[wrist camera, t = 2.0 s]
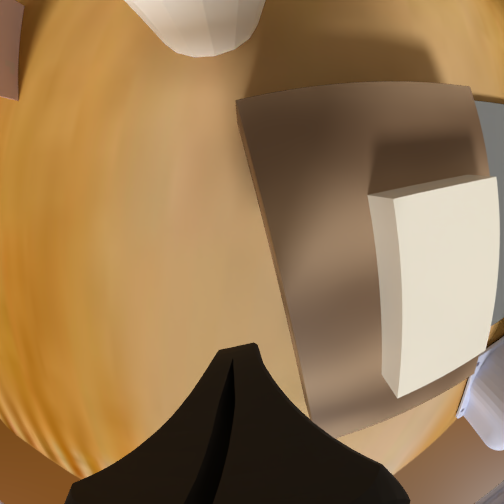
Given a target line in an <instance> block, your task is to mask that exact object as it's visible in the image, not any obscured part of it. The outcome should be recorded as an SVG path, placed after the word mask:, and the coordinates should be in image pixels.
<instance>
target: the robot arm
mask: <svg viewBox="0 0 504 504" xmlns="http://www.w3.org/2000/svg"><path fill="white" fill-rule="evenodd" d="M463 415H464V417H465V418H466V419H467V421H469V423H470V424H471V426H472V427H473V428H474V429H475V431H476V432H477V433H478V435H479V436H480V437H481V439H482V440H483V441H484V443H485V444H486V445H487V446H488V447H489V448H491V449H494V450H504V336H503V337H502V338H501V339H499V340H498V341H496V342H495V343H494V344H492V345H491V346H489V347H488V348H486V350H485V351H484V352H482V353H481V354H479V357H478V361H477V365H476V369H475V372H474V374H473V375H471V376H470V377H469V378H468V382H467V385H466V388H465V391H464V394H463V397H462V400H461V403H460V406H459V409H458V411H457V414H456V417H457V418H460V417H462V416H463ZM0 504H4V503H3V502H1V501H0ZM65 504H410V499H409V497H408V495H407V493H406V492H405V490H404V489H403V487H402V486H401V484H400V483H399V482H398V481H397V480H396V478H395V477H394V476H393V475H392V474H391V473H390V472H389V471H388V470H387V469H386V468H385V467H384V466H383V465H382V464H380V463H378V462H376V461H374V460H372V459H370V458H368V457H366V456H364V455H362V454H360V453H358V452H356V451H354V450H353V449H351V448H349V447H348V446H346V445H344V444H343V443H341V442H340V441H338V440H336V439H335V438H333V437H332V436H331V435H329V434H328V433H327V432H325V431H324V430H323V429H321V428H320V427H319V426H317V425H316V424H315V423H314V422H312V421H311V420H310V419H309V418H308V417H307V416H306V415H304V414H303V413H302V412H301V411H300V410H299V409H298V408H297V407H296V406H295V405H294V404H293V403H292V402H291V401H290V400H289V398H288V397H287V396H286V395H285V394H284V393H283V391H282V390H281V389H280V388H279V386H278V385H277V384H276V382H275V381H274V380H273V378H272V377H271V375H270V373H269V372H268V370H267V369H266V367H265V365H264V363H263V361H262V358H261V354H260V351H259V348H258V345H257V344H255V343H250V344H245V345H241V346H236V347H231V348H226V349H222V350H219V351H218V352H217V354H216V355H215V357H214V358H213V360H212V362H211V363H210V365H209V366H208V368H207V370H206V371H205V373H204V374H203V376H202V377H201V379H200V380H199V382H198V383H197V385H196V386H195V388H194V389H193V391H192V392H191V393H190V395H189V396H188V397H187V398H186V400H185V401H184V402H183V404H182V405H181V406H180V407H179V409H178V410H177V411H176V412H175V413H174V414H173V415H172V417H171V418H170V419H169V420H168V421H167V422H166V423H165V424H164V425H163V426H162V427H161V428H160V429H159V430H158V431H157V432H155V433H154V434H153V435H152V436H151V437H150V438H148V439H147V440H146V441H145V442H143V443H142V444H141V445H140V446H139V447H137V448H136V449H135V450H133V451H132V452H131V453H129V454H128V455H126V456H125V457H123V458H122V459H120V460H119V461H117V462H115V463H114V464H112V465H110V466H109V467H107V468H105V469H103V470H102V471H99V472H97V473H95V474H93V475H91V476H89V477H87V478H84V479H82V480H80V481H78V482H75V483H73V484H72V486H71V489H70V491H69V494H68V496H67V499H66V501H65ZM474 504H504V480H503V481H502V482H501V483H500V484H499V485H498V486H496V487H495V488H494V489H493V490H491V491H490V492H489V493H487V494H486V495H485V496H484V497H482V498H481V499H479V500H478V501H477V502H475V503H474Z"/></svg>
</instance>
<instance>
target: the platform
mask: <svg viewBox="0 0 504 504" xmlns="http://www.w3.org/2000/svg"><path fill="white" fill-rule="evenodd" d="M236 111H237V123H238V127H239V130H240V134H241V138H242V142H243V145H244V149H245V153H246V157H247V160H248V164H249V168H250V172H251V176H252V180H253V183H254V187H255V191H256V195H257V199H258V203H259V207H260V211H261V215H262V219H263V223H264V227H265V231H266V235H267V239H268V243H269V247H270V251H271V255H272V259H273V263H274V267H275V271H276V275H277V280H278V284H279V288H280V292H281V296H282V301H283V305H284V309H285V313H286V318H287V322H288V326H289V331H290V335H291V339H292V344H293V348H294V353H295V357H296V361H297V366H298V370H299V375H300V379H301V384H302V389H303V393H304V398H305V402H306V406H307V410H308V413H309V417H310V420H311V421H312V422H314V423H315V424H316V425H317V426H319V427H320V428H321V429H323V430H324V431H325V432H327V433H328V434H329V435H331V436H332V437H333V438H338V437H341V436H344V435H347V434H350V433H353V432H356V431H359V430H362V429H365V428H367V427H370V426H373V425H375V424H378V423H380V422H383V421H385V420H388V419H390V418H392V417H395V416H397V415H399V414H402V413H404V412H406V411H408V410H410V409H412V408H414V407H417V406H419V405H421V404H423V403H425V402H427V401H428V400H430V399H432V398H434V397H436V396H438V395H440V394H441V393H443V392H445V391H447V390H449V389H450V388H452V387H454V386H455V385H457V384H459V383H460V382H462V381H464V380H465V379H467V378H468V377H470V376H471V375H473V374H474V372H475V369H476V365H477V361H478V357H479V355H477V356H476V357H474V358H473V359H471V360H470V361H468V362H466V363H465V364H463V365H462V366H460V367H458V368H456V369H455V370H453V371H451V372H450V373H448V374H446V375H444V376H442V377H441V378H439V379H437V380H435V381H433V382H431V383H429V384H427V385H425V386H423V387H421V388H419V389H417V390H415V391H413V392H411V393H409V394H406V395H404V396H402V397H400V398H397V397H396V396H395V394H394V393H393V391H392V390H391V388H390V386H389V385H388V383H387V382H386V380H385V379H384V377H383V376H382V325H381V303H380V288H379V276H378V266H377V256H376V248H375V240H374V233H373V226H372V219H371V213H370V207H369V201H368V196H367V195H370V194H374V193H379V192H384V191H388V190H393V189H398V188H402V187H407V186H412V185H417V184H422V183H427V182H432V181H437V180H442V179H447V178H453V177H458V176H463V175H481V176H490V172H489V165H488V159H487V153H486V147H485V142H484V137H483V133H482V128H481V124H480V120H479V116H478V112H477V108H476V105H475V101H474V98H473V95H472V92H471V89H470V87H469V86H461V85H453V84H442V83H429V82H405V81H380V82H355V83H341V84H330V85H321V86H312V87H305V88H298V89H291V90H285V91H279V92H273V93H268V94H263V95H258V96H253V97H249V98H244V99H240V100H236Z"/></svg>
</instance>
